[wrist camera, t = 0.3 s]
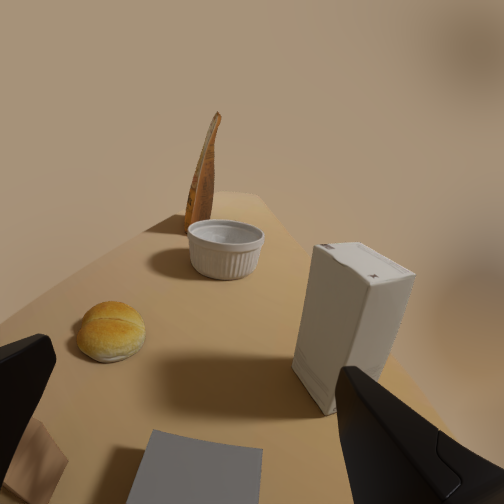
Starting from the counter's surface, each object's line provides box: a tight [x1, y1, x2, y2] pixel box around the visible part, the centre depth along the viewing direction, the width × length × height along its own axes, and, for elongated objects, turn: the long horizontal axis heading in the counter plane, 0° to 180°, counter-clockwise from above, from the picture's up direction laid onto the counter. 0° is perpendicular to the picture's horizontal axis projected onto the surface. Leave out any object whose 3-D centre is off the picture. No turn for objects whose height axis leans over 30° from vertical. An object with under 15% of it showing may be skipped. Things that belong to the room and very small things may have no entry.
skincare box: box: [291, 242, 416, 415], centre depth 26 cm, size 8×6×15 cm
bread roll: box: [76, 301, 145, 363], centre depth 31 cm, size 8×9×4 cm
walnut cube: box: [2, 417, 68, 504], centre depth 12 cm, size 6×6×6 cm
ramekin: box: [187, 219, 264, 280], centre depth 52 cm, size 13×13×7 cm
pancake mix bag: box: [184, 112, 221, 233], centre depth 68 cm, size 7×19×28 cm, turn 1°
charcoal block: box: [126, 429, 263, 504], centre depth 15 cm, size 8×8×4 cm
